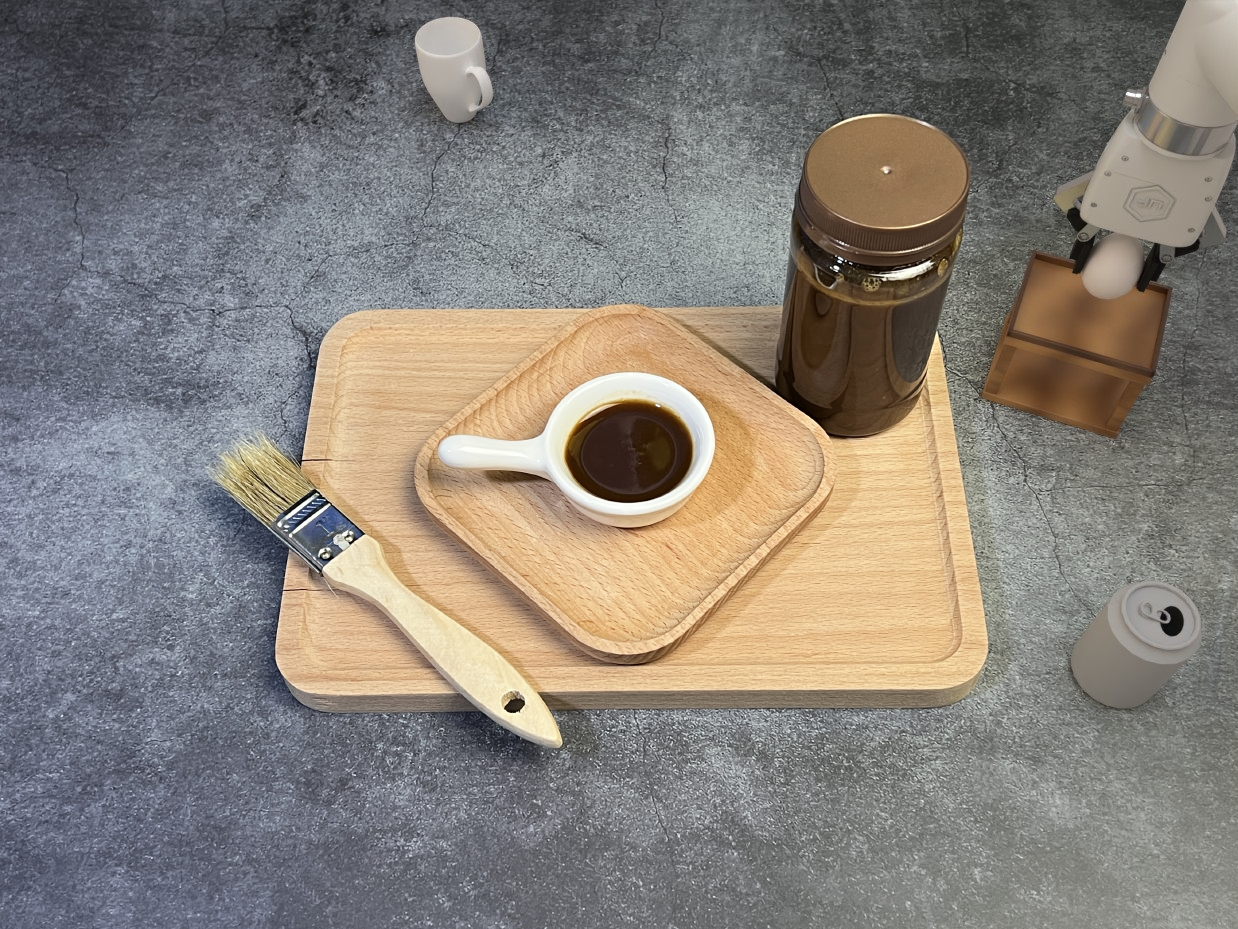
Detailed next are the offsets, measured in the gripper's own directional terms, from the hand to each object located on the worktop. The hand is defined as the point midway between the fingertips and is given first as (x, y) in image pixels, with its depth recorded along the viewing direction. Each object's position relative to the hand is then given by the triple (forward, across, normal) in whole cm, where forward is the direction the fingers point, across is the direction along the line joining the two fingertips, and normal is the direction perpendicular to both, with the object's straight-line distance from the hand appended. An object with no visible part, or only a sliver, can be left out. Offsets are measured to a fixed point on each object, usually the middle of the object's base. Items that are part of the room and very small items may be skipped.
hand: (1110, 271), depth 105 cm
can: (+16, +11, -32) cm, 38 cm away
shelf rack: (+16, 0, 0) cm, 16 cm away
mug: (+16, -79, +14) cm, 82 cm away
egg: (+3, 0, 0) cm, 3 cm away
